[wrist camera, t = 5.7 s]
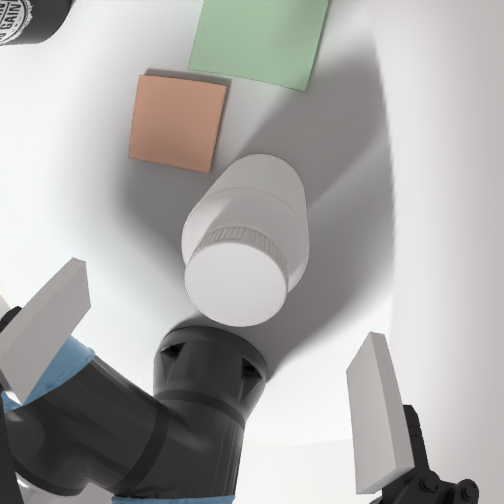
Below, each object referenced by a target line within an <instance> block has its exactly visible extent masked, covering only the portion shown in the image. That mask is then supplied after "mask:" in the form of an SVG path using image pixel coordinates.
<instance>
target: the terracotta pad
mask: <svg viewBox="0 0 504 504" xmlns="http://www.w3.org/2000/svg"><path fill="white" fill-rule="evenodd" d="M226 90H227V86H225V85H219V84H213V83H206V82H200V81H193V80H185V79H177V78H168V77H159V76H148V75H140V76H139V82H138V88H137V94H136V100H135V107H134V114H133V122H132V130H131V139H130V149H129V158H134V159H139V160H145V161H150V162H155V163H160V164H165V165H170V166H175V167H180V168H185V169H190V170H194V171H199V172H204V173H209V172H210V169H211V164H212V159H213V153H214V148H215V143H216V138H217V133H218V128H219V123H220V118H221V113H222V108H223V104H224V99H225V94H226Z"/></svg>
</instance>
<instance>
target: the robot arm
mask: <svg viewBox="0 0 504 504" xmlns="http://www.w3.org/2000/svg"><path fill="white" fill-rule="evenodd" d="M90 307H91V305H90V297H89V289H88V281H87V271H86V262H85V261H82V260H79V259H76V258H72V259H71V260H70V261H69V262H68V263H66V264H65V265H64V266H63V267H62V268H61V269H60V270H59V271H58V272H57V273H56V274H55V275H54V276H53V277H52V278H51V279H50V280H49V281H48V282H47V283H46V284H45V285H44V286H43V287H42V288H41V289H40V290H39V291H38V293H37V294H36V295H35V296H34V297H33V298H32V299H31V300H30V301H29V302H28V303H27V304H26V305H25V306H24V307H23V308H21V307H19V306H17V307H15V308H13V309H11V310H10V311H8V312H7V313H6V314H5V315H4V316H3V317H2V318H1V321H0V504H53V503H54V501H55V500H56V499H57V497H59V498H72V497H75V496H77V495H79V494H80V493H81V492H82V490H83V489H84V488H85V487H86V485H87V484H88V483H89V482H92V483H93V484H95V485H97V486H99V487H101V488H103V489H105V490H107V491H109V492H111V493H113V494H114V497H112V499H111V500H112V504H232V501H233V500H234V499H235V490H236V484H237V477H238V470H239V464H240V457H241V450H242V444H243V437H244V430H245V424H246V421H247V419H248V417H249V416H250V414H251V412H252V411H253V409H254V407H255V406H256V404H257V402H258V400H259V399H260V397H261V395H262V393H263V391H264V388H265V383H266V375H267V368H266V364H265V361H264V359H263V358H262V356H261V355H260V353H259V352H258V351H257V350H256V349H255V348H254V347H253V346H252V345H251V344H249V343H248V342H246V341H245V340H243V339H242V338H240V337H238V336H236V335H234V334H231V333H229V332H226V331H223V330H219V329H215V328H210V327H186V328H181V329H178V330H175V331H173V332H171V333H170V334H168V335H167V336H166V337H165V338H164V339H163V340H162V342H161V344H160V346H159V348H158V350H157V352H156V355H155V358H154V378H153V397H152V396H150V395H149V394H148V393H146V392H145V391H143V390H142V389H140V388H139V387H137V386H136V385H135V384H133V383H132V382H130V381H129V380H128V379H126V378H125V377H124V376H122V375H121V374H120V373H118V372H117V371H116V370H114V369H113V368H112V367H110V366H109V365H108V364H107V363H105V362H104V361H103V360H101V359H100V358H99V357H98V356H96V355H95V352H94V350H93V349H91V348H87V347H86V346H84V345H83V344H82V343H80V342H79V341H78V340H77V339H75V338H74V337H73V336H72V335H70V334H71V333H72V331H73V330H74V329H75V327H76V326H77V325H78V323H79V322H80V321H81V319H82V318H83V317H84V315H85V314H86V313H87V311H88V310H89V309H90ZM346 375H347V384H348V392H349V402H350V411H351V422H352V433H353V445H354V460H355V476H356V494H374V493H376V492H377V491H379V490H381V489H382V496H380V497H378V498H377V499H375V500H373V501H372V502H371V503H369V504H374V503H375V504H478V498H479V490H478V487H477V485H476V483H475V482H474V481H472V480H471V479H465V480H462V481H460V482H459V483H457V484H454V483H450V482H445V481H442V480H440V478H439V476H438V475H437V474H436V473H435V472H433V471H431V470H430V468H429V465H428V460H427V455H426V450H425V445H424V440H423V437H422V431H421V428H420V423H419V418H418V415H417V413H416V412H415V410H414V408H413V407H412V405H402V400H401V396H400V392H399V388H398V384H397V380H396V376H395V372H394V368H393V364H392V360H391V356H390V353H389V349H388V346H387V342H386V338H385V335H384V334H380V333H374V332H369V334H368V336H367V337H366V339H365V341H364V342H363V344H362V346H361V347H360V349H359V351H358V352H357V354H356V356H355V357H354V359H353V360H352V362H351V364H350V365H349V367H348V368H347V370H346Z"/></svg>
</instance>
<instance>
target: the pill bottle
mask: <svg viewBox="0 0 504 504" xmlns="http://www.w3.org/2000/svg"><path fill="white" fill-rule="evenodd" d="M182 255H183V259H184V262H185V265H186V268H185V269H186V270H185V275H184V278H185V279H184V282H185V287H186V290H187V293H188V295H189V297H190V299H191V301H192V302H193V304H194V305H195V306H196V307H197V308H198V309H199V310H200V311H201V312H202V313H203V314H204V315H206V316H207V317H209V318H210V319H212V320H214V321H216V322H219V323H222V324H225V325H229V326H237V327H245V326H253V325H257V324H260V323H262V322H264V321H266V320H268V319H270V318H271V317H273V316H274V315H275V314H276V313H277V312H278V311H279V310H280V308H282V306H283V305H284V303H285V301H286V297H287V295H288V292H290V291H291V290H292V289H293V288H294V287H295V286H296V284H297V283H298V282H299V280H300V279H301V277H302V276H303V274H304V272H305V270H306V267H307V264H308V261H309V255H310V239H309V228H308V218H307V208H306V199H305V191H304V187H303V184H302V181H301V179H300V177H299V176H298V174H297V173H296V171H295V170H294V169H293V168H292V167H291V166H290V165H289V164H288V163H286V162H285V161H283V160H282V159H280V158H277V157H275V156H271V155H267V154H253V155H248V156H245V157H243V158H240V159H238V160H237V161H235V162H233V163H232V164H231V165H230V166H229V167H228V168H227V169H226V170H225V171H224V172H223V173H222V174H221V176H220V177H219V178H218V179H217V180H216V181H215V183H214V184H213V185H212V186H211V187H210V189H209V190H208V191H207V192H206V193H205V195H204V196H203V197H202V198H201V199H200V201H199V202H198V203H197V204H196V205H195V207H194V208H193V209H192V211H191V212H190V214H189V216H188V218H187V220H186V222H185V224H184V228H183V232H182Z"/></svg>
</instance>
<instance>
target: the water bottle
mask: <svg viewBox="0 0 504 504" xmlns="http://www.w3.org/2000/svg"><path fill="white" fill-rule="evenodd" d="M71 2H72V0H0V46H3V45H15V44H35V43H40V42H43V41H45V40H47V39H48V38H50V37H51V36H52V35H53V34H54V33H55V32H56V31H57V30H58V29H59V27H60V26H61V25H62V23H63V22H64V20H65V18H66V16H67V14H68V12H69V9H70V6H71Z"/></svg>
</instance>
